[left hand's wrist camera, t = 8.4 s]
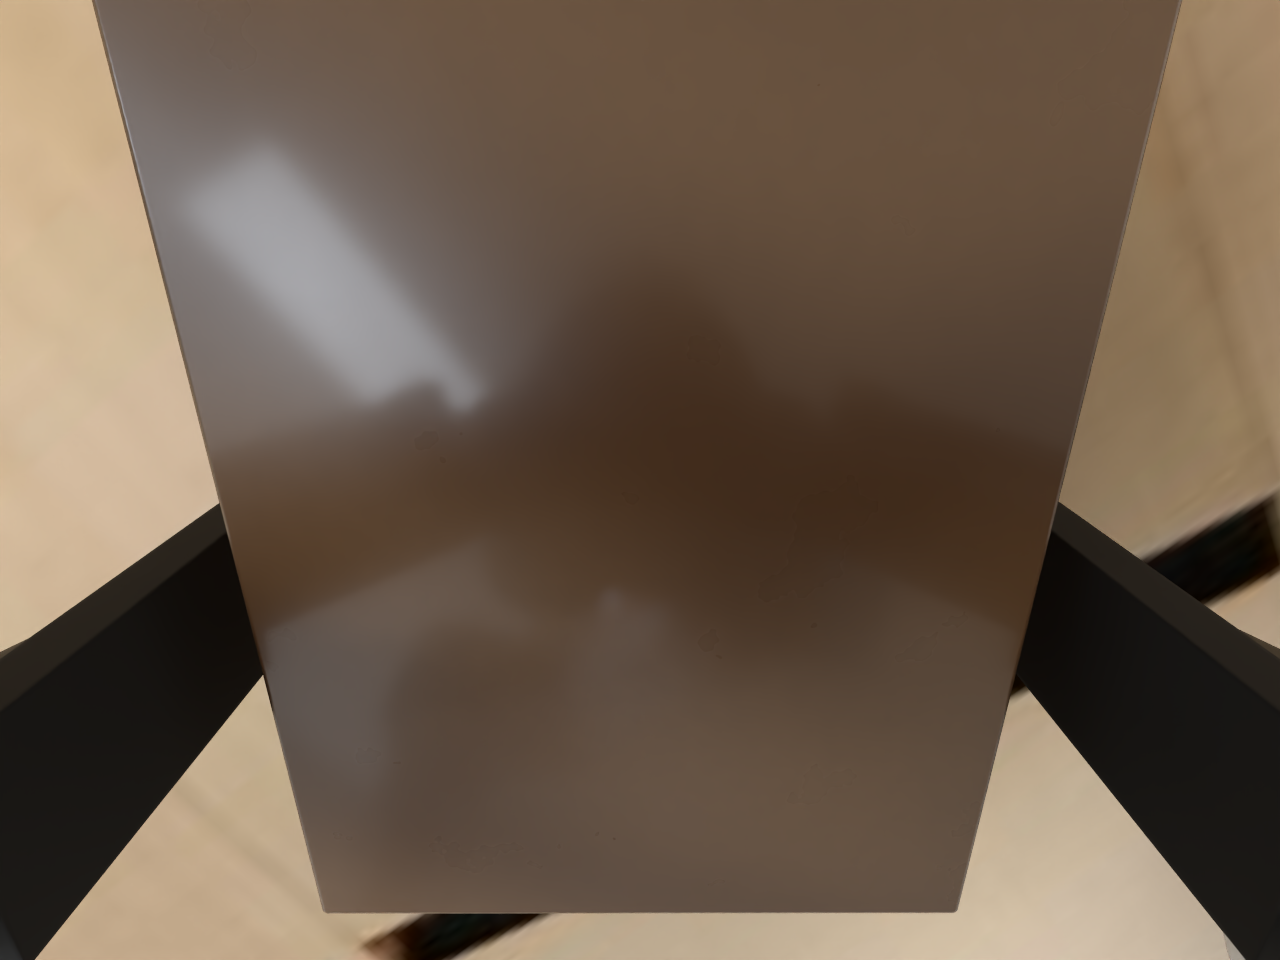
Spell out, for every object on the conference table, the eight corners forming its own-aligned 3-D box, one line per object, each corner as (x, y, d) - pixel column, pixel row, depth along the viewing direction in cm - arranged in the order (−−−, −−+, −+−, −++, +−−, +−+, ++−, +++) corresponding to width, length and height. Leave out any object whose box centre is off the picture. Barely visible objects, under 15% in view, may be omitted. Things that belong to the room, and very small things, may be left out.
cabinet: (369, -247, 13) (-229, -1239, 4) (906, -248, 13) (1495, -1249, 4) (465, 595, 19) (322, 915, 11) (815, 594, 19) (958, 915, 11)
